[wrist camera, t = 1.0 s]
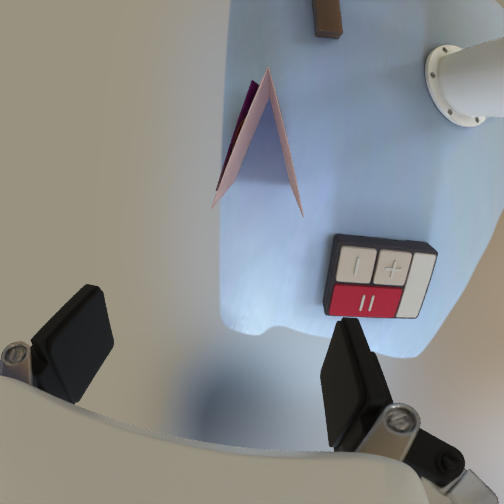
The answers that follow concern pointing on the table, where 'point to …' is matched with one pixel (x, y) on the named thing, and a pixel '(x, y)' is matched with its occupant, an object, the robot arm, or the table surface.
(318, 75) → the table surface
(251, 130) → the greeting card
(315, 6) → the walnut bar
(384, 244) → the calculator
